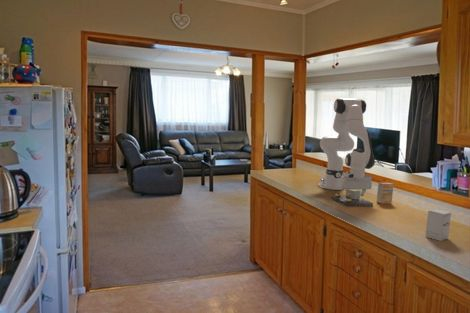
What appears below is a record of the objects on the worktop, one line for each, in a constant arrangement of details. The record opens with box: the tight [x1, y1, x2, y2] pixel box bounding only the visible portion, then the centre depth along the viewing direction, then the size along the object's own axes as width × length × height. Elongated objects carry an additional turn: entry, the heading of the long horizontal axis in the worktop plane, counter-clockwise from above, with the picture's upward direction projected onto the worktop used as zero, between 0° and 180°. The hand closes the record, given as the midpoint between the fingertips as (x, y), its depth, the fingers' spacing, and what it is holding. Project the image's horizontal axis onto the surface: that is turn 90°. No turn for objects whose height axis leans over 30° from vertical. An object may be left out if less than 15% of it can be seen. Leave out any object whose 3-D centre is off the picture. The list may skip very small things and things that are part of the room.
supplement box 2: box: [425, 208, 452, 242], centre depth 180 cm, size 7×7×13 cm
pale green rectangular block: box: [351, 189, 361, 199], centre depth 248 cm, size 4×4×5 cm
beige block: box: [345, 189, 355, 198], centre depth 254 cm, size 4×4×5 cm
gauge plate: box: [330, 192, 374, 207], centre depth 247 cm, size 20×18×4 cm
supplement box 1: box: [376, 182, 395, 205], centre depth 249 cm, size 8×5×13 cm, turn 105°
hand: (355, 195), depth 248 cm, fingers open, 8 cm apart
